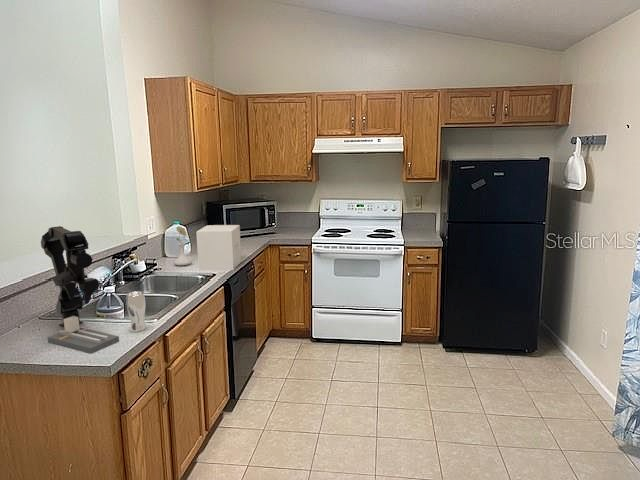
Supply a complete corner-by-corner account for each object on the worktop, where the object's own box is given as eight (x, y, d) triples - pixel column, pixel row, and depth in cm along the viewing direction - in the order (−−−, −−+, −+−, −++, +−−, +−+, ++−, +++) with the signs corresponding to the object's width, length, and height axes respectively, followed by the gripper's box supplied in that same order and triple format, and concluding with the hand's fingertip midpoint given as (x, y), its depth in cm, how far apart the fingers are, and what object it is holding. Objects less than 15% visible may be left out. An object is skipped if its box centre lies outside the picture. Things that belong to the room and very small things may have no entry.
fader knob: (65, 334, 174) (63, 319, 173) (74, 330, 178) (73, 315, 177) (70, 335, 173) (68, 320, 172) (80, 331, 177) (78, 317, 175)
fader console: (48, 342, 173) (47, 334, 173) (77, 331, 184) (76, 323, 183) (91, 353, 163) (90, 345, 162) (119, 341, 173) (118, 333, 173)
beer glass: (149, 325, 189) (146, 290, 186) (144, 332, 182) (140, 296, 179) (132, 326, 189) (129, 291, 186) (126, 332, 182) (123, 296, 179)
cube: (233, 270, 279) (231, 231, 274) (198, 271, 279) (196, 231, 275) (241, 261, 303) (239, 225, 299) (209, 261, 304) (207, 225, 299)
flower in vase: (194, 265, 292) (192, 226, 287) (177, 267, 286) (174, 228, 281) (188, 261, 303) (185, 224, 298) (170, 263, 296) (168, 225, 292)
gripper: (40, 265, 174) (44, 304, 177) (70, 271, 166) (75, 312, 169) (67, 259, 184) (71, 296, 187) (98, 264, 175) (101, 303, 178)
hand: (79, 301), depth 180 cm, fingers open, 9 cm apart
